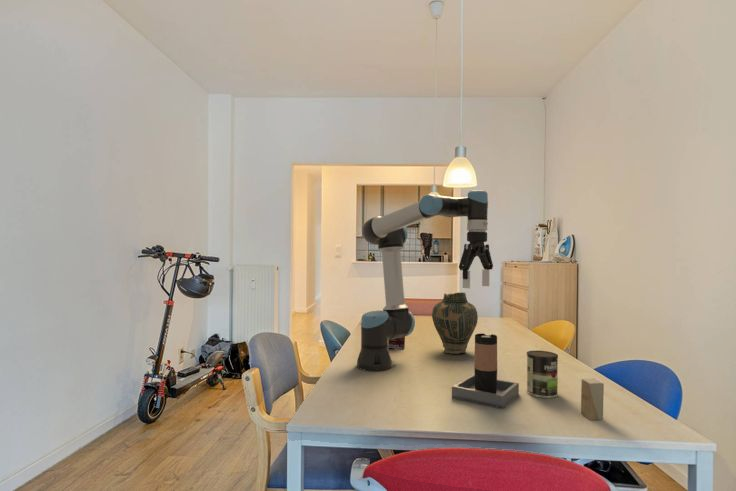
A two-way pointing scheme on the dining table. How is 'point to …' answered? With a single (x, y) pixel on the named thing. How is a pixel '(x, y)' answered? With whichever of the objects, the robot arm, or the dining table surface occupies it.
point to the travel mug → (486, 363)
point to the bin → (485, 393)
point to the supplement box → (397, 343)
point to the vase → (455, 322)
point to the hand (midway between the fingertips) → (476, 287)
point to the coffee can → (542, 374)
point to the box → (592, 399)
